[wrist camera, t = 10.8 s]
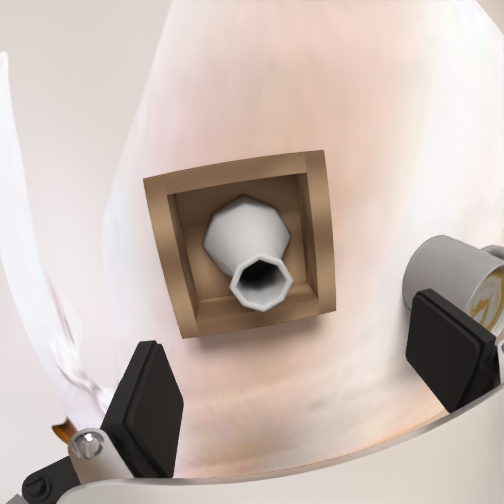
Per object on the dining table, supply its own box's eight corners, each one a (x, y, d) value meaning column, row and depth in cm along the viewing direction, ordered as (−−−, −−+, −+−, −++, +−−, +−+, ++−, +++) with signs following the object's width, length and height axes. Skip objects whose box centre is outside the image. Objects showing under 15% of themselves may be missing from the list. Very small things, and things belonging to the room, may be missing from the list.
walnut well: (320, 289, 28) (336, 310, 23) (187, 313, 27) (182, 338, 23) (306, 152, 24) (323, 149, 20) (156, 176, 23) (142, 178, 19)
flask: (305, 231, 25) (352, 271, 16) (252, 293, 26) (268, 360, 17) (240, 177, 23) (253, 185, 14) (186, 245, 24) (165, 295, 15)
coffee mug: (405, 326, 31) (452, 374, 21) (397, 252, 28) (459, 289, 18) (477, 284, 30) (526, 314, 21) (475, 215, 27) (535, 235, 18)
